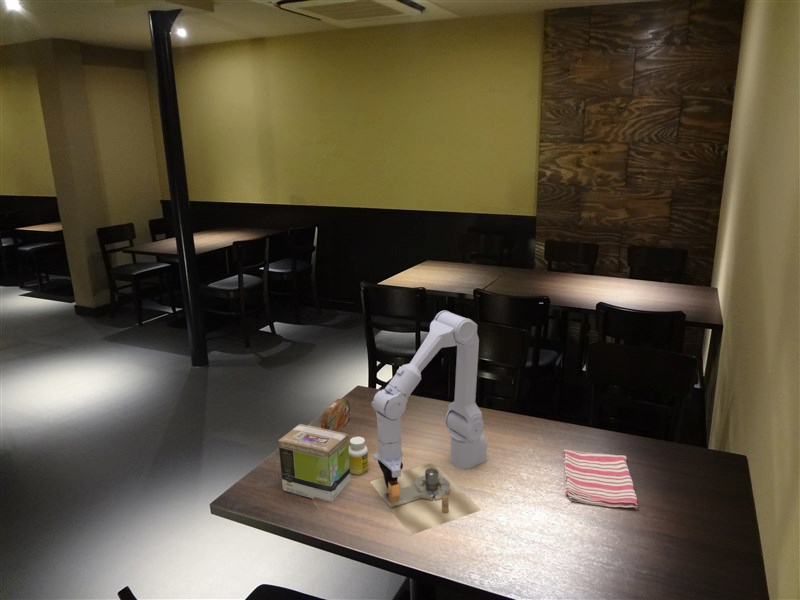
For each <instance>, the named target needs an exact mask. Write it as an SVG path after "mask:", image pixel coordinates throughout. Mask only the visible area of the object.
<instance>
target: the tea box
mask: <svg viewBox="0 0 800 600" xmlns="http://www.w3.org/2000/svg"><path fill="white" fill-rule="evenodd" d="M349 447H350V444H349V434H348V433H346V432H341V431H339V432H337V431H332V430H327V429H323V428H321V427H318V426H312V425H307V424H303V423H299V424H297V425H296V426H295V427H294V428H292V429H291V430H289V432H287V433H286V434H284V436H282V437H281V438H279V439H278V452H279V453H278V454H279V461H280V462H279V463H280V473H281V481H282V482H281V484H282V490H283V491H284V492H285V491H286V492H289V493H292V494H295V495H298V496H303V497H307V498H310V499H312V500H314V499H315V498H316V499H320V500H323V501H328V502H333V501H334V500H335V499H336V498H337V496H339V494H340V493H341V492H342V491H343V489H345V488H346V487H347V485H349V483H351V474H350V462H349Z"/></svg>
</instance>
